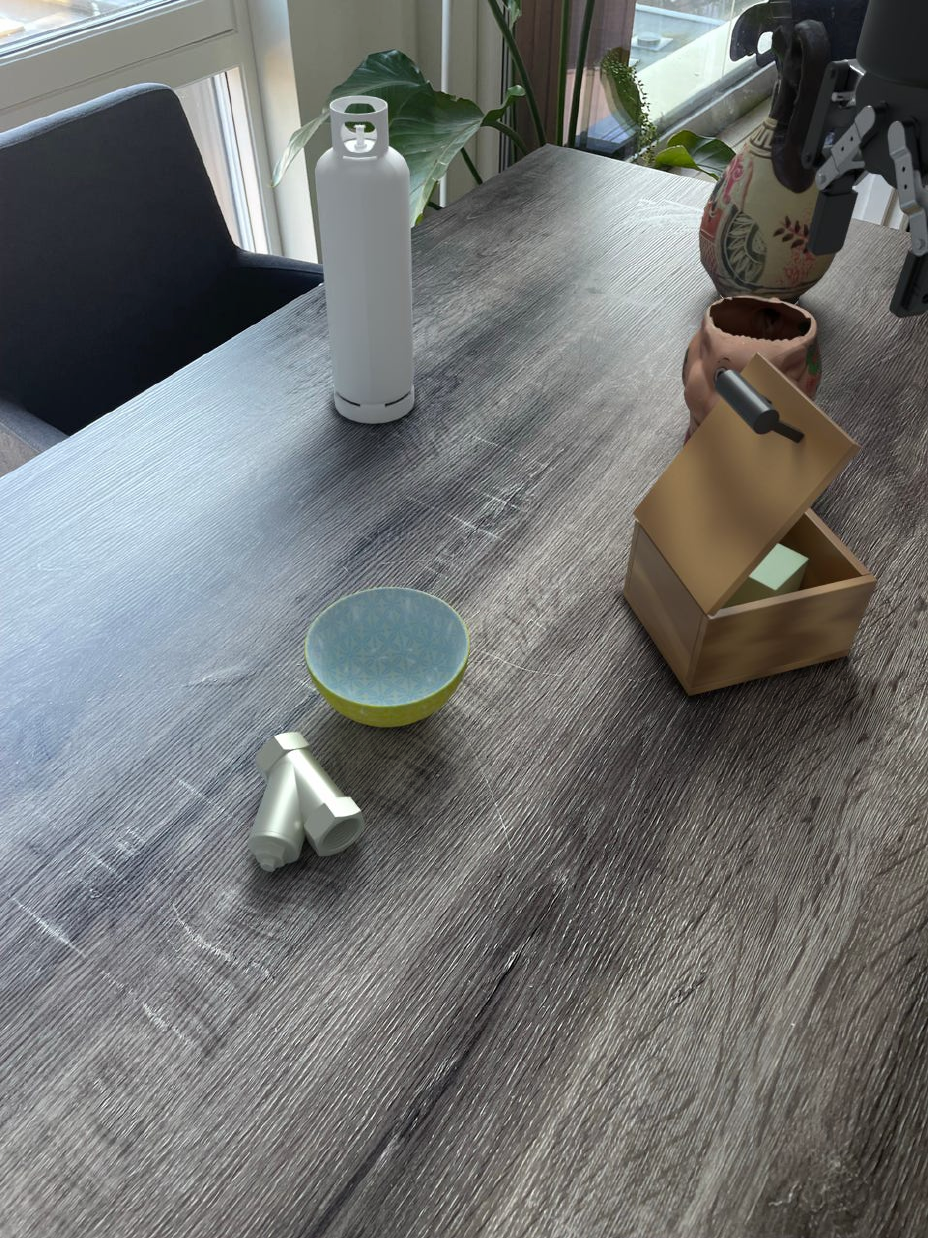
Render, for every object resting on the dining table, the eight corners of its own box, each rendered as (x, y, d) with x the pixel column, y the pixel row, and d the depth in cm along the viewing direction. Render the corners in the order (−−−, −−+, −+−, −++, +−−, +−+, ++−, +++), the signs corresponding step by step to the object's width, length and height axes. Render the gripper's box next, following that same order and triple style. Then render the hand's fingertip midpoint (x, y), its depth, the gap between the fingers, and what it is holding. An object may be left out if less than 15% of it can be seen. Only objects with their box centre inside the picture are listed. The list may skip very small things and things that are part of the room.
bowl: (294, 754, 69) (284, 695, 65) (332, 637, 77) (325, 578, 73) (456, 774, 68) (457, 715, 64) (478, 653, 76) (479, 594, 72)
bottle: (332, 423, 98) (305, 121, 79) (336, 380, 104) (312, 88, 85) (414, 423, 99) (407, 121, 79) (414, 380, 104) (408, 89, 85)
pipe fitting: (275, 896, 62) (367, 837, 64) (263, 864, 59) (360, 803, 61) (217, 808, 66) (305, 756, 69) (203, 775, 63) (295, 722, 66)
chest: (768, 561, 84) (791, 486, 79) (847, 656, 77) (878, 580, 71) (622, 594, 81) (635, 518, 76) (688, 696, 73) (708, 620, 68)
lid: (764, 355, 69) (712, 326, 66) (862, 447, 61) (809, 419, 58) (639, 515, 76) (587, 496, 73) (713, 617, 68) (659, 600, 65)
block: (793, 606, 79) (809, 558, 76) (760, 638, 77) (775, 590, 73) (738, 577, 82) (752, 529, 78) (705, 607, 79) (717, 559, 76)
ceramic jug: (680, 269, 124) (728, -9, 103) (805, 273, 124) (878, -5, 103) (697, 337, 112) (756, 36, 91) (836, 341, 112) (926, 41, 91)
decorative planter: (685, 384, 105) (710, 255, 95) (804, 404, 102) (842, 274, 92) (652, 493, 91) (677, 355, 81) (788, 520, 88) (831, 381, 79)
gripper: (1133, -6, 45) (994, 328, 56) (932, -69, 54) (848, 227, 66) (995, 5, 43) (880, 347, 54) (812, -62, 53) (747, 240, 64)
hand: (862, 281), depth 60 cm, fingers open, 8 cm apart
